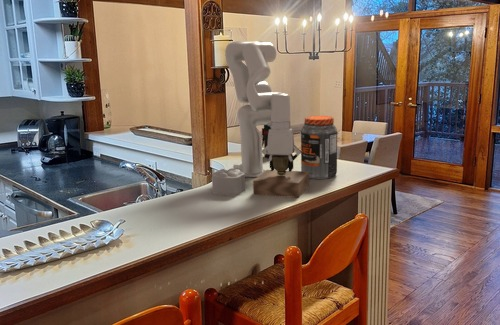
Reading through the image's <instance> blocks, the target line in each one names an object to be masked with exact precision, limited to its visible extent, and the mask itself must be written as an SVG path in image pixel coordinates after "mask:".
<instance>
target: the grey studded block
mask: <svg viewBox="0 0 500 325" xmlns="http://www.w3.org/2000/svg"><path fill="white" fill-rule="evenodd" d="M211 181H212V183H211V184H212V186H211V187H212V193H214V194H215V195H219V196H227V197H228V196H229V197H230V196H232V197H233V196H240V195H242V193H244V192H246V177H245V173H243V172H241V171H240V170H239V169H237V170H236V169H234V168H233V167H231V168H229V169H228V170H227V169H225V168H221V169H219V170H217V171H215V172H213V173H211Z"/></svg>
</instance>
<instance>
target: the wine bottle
mask: <svg viewBox="0 0 500 325" xmlns="http://www.w3.org/2000/svg"><path fill="white" fill-rule="evenodd" d="M269 129H271V127H270V126H268V125H263V128H261V136H262V147H263V149H264V148H265V147H266V146H267V145H268V133H269ZM267 153H268V151H267ZM269 155H270V154H269ZM263 156H264V158H266V157H265V155H264V154H263Z"/></svg>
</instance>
